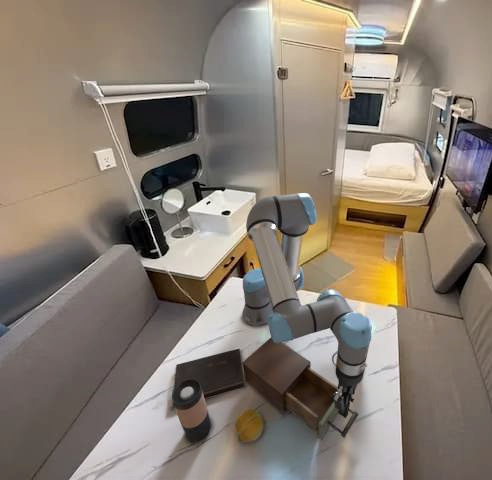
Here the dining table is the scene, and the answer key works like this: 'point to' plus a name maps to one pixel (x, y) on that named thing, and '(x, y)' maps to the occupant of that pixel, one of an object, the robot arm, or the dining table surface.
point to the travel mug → (192, 410)
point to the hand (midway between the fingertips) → (343, 413)
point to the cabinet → (274, 370)
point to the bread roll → (249, 425)
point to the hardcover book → (213, 373)
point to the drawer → (315, 402)
